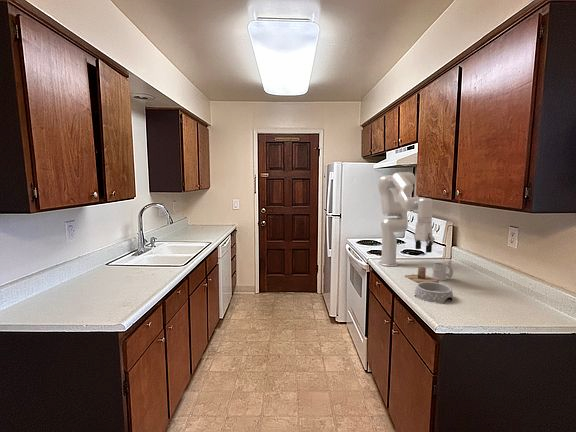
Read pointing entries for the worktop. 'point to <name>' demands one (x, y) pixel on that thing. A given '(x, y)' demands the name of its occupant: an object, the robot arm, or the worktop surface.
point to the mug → (442, 271)
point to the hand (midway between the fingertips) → (423, 250)
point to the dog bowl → (431, 296)
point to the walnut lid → (421, 276)
